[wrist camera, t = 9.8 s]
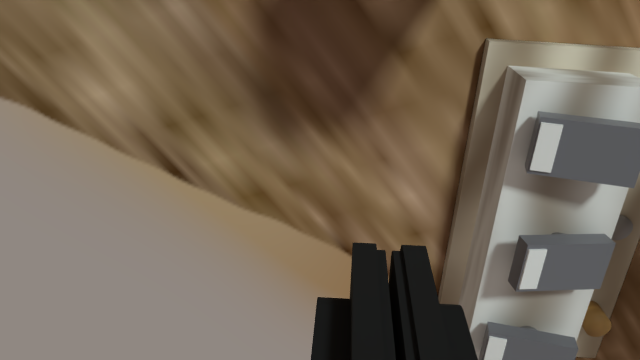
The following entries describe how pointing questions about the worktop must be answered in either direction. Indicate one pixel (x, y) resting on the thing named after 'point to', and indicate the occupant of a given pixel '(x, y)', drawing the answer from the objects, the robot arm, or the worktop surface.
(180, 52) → the worktop surface
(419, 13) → the worktop surface
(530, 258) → the rocker
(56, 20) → the worktop surface
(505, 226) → the switch unit
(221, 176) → the worktop surface
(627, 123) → the block
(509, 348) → the block
